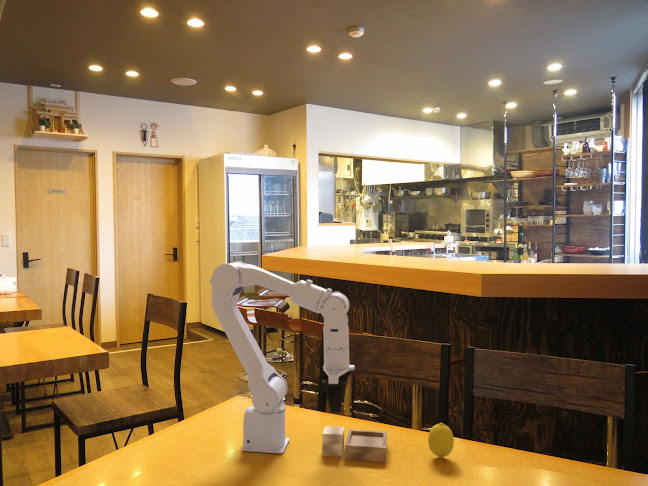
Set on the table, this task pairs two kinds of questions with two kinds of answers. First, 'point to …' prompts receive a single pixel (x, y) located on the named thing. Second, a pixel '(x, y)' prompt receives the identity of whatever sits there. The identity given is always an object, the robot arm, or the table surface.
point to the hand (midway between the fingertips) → (337, 406)
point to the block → (333, 441)
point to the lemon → (440, 440)
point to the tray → (366, 445)
